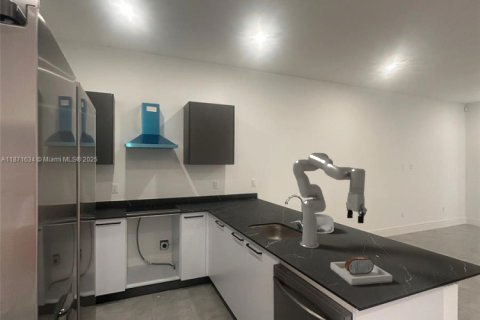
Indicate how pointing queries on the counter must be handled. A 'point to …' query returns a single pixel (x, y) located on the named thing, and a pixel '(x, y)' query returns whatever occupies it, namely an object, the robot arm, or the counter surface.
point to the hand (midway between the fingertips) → (355, 220)
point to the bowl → (324, 223)
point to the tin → (359, 265)
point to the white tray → (361, 275)
